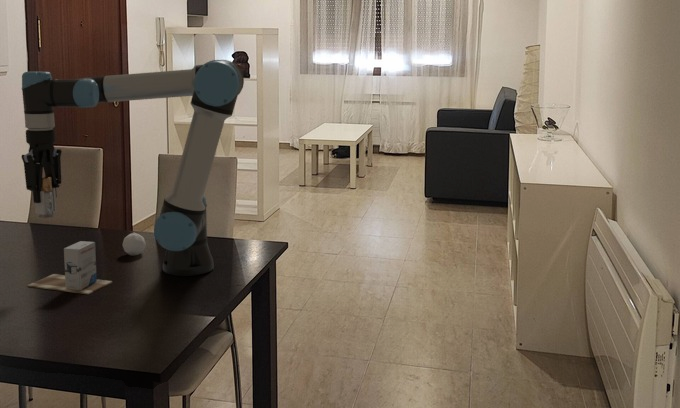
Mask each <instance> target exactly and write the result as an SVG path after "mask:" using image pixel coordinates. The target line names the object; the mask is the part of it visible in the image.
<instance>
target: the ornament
mask: <svg viewBox="0 0 680 408" xmlns="http://www.w3.org/2000/svg"><path fill="white" fill-rule="evenodd" d="M146 245H147V243H146V239H145V238H144V236H142V235H140V234H139V233H136V232H135V231H134V232H132V233H129V234H128V235H127V236H125V237H124V238H123V241H122V248H123V250H124V252H125V253H127V254H128V255H129V256H139V255H140V254H141V253H143V252H144V251H145V249H146Z"/></svg>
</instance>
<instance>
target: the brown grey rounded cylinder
mask: <svg viewBox="0 0 680 408" xmlns="http://www.w3.org/2000/svg"><path fill="white" fill-rule="evenodd" d="M41 191H44V200H45V214H44V215H42V214H38V218H41V219H42V218H43V219H45V218H52V217H54V216H55V211H54V208H53V194H52V180H51V177H50V176H45V175H42V189H41Z"/></svg>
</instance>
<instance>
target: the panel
mask: <svg viewBox="0 0 680 408" xmlns="http://www.w3.org/2000/svg"><path fill="white" fill-rule="evenodd" d="M112 283H113V281H112V280H106V279H97V281H96V282H94V283H92V284H90V285H89V286H87V287H85V288H83V289H82V290H74V289H67V288H66V286H65V274H58V273H53V274H50V275H48V276H45V277H43V278H41V279H39V280H36V281H34V282H32V283H31V282H30V283H29V284H27V288H28V287H30V288H38V289H45V290H50V291H51V290H52V291H59V292H66V293H67V292H68V293H75V294H82V295H90V294H92V293H94V292H96V291H98V290H100V289H103V288H104V287H106V286H108V285H110V284H112Z"/></svg>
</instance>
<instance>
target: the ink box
mask: <svg viewBox="0 0 680 408" xmlns="http://www.w3.org/2000/svg"><path fill="white" fill-rule="evenodd" d="M63 258H64V259H63V260H64V275H65V286H66V288H67V289H74V290H82V289H83V288H85V287H87V286H89V285H90V284H92V283H94V282H96V281H97V260H96V259H97V257H96V242H95V241H85V240H83V241H82V240H80V241H78V242H75V243H73V244H70V245H68V246H67V247H64V248H63Z"/></svg>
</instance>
